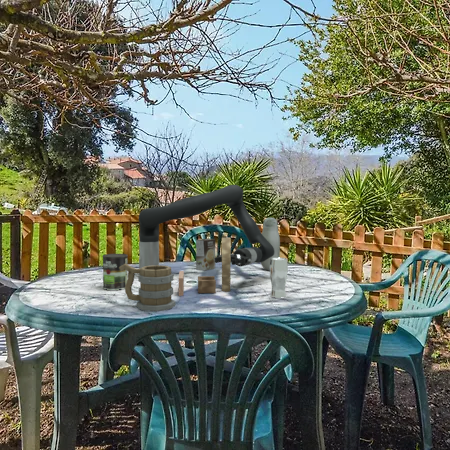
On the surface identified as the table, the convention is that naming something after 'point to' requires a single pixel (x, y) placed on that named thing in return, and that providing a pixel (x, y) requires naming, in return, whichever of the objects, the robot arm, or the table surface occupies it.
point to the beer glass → (278, 276)
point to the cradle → (206, 284)
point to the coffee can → (114, 271)
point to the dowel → (226, 264)
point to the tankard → (151, 287)
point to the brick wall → (181, 283)
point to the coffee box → (205, 254)
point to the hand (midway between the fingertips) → (223, 261)
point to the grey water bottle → (271, 239)
